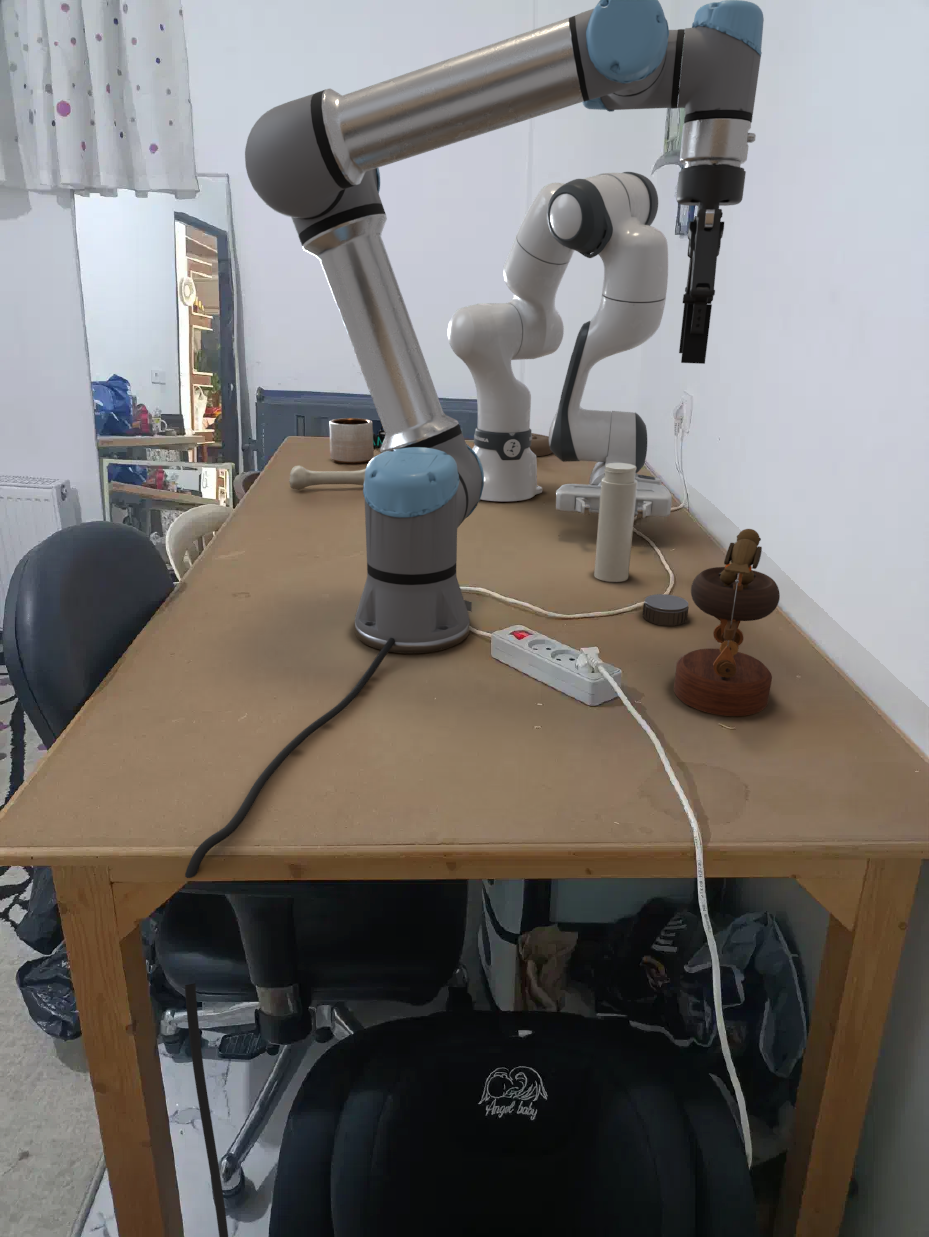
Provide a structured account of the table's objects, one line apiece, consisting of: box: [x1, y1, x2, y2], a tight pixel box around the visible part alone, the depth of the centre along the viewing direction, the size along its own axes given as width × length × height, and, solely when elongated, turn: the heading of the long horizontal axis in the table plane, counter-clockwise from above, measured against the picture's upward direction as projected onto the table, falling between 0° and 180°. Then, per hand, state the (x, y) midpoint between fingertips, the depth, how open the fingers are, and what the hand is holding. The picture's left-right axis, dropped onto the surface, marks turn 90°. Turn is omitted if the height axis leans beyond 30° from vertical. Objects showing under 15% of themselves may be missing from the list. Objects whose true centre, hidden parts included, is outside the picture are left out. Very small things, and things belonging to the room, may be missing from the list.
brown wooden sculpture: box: [673, 528, 781, 717], centre depth 94 cm, size 15×11×20 cm
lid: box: [642, 593, 690, 627], centre depth 119 cm, size 6×6×2 cm
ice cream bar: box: [530, 432, 554, 457], centre depth 222 cm, size 21×28×4 cm
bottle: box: [593, 463, 637, 583], centre depth 132 cm, size 5×5×18 cm
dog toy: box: [288, 465, 366, 490], centre depth 185 cm, size 20×6×5 cm, turn 99°
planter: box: [328, 417, 375, 464], centre depth 212 cm, size 11×11×10 cm
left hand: (691, 358), depth 106 cm, fingers open, 13 cm apart
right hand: (613, 511), depth 144 cm, fingers open, 8 cm apart
